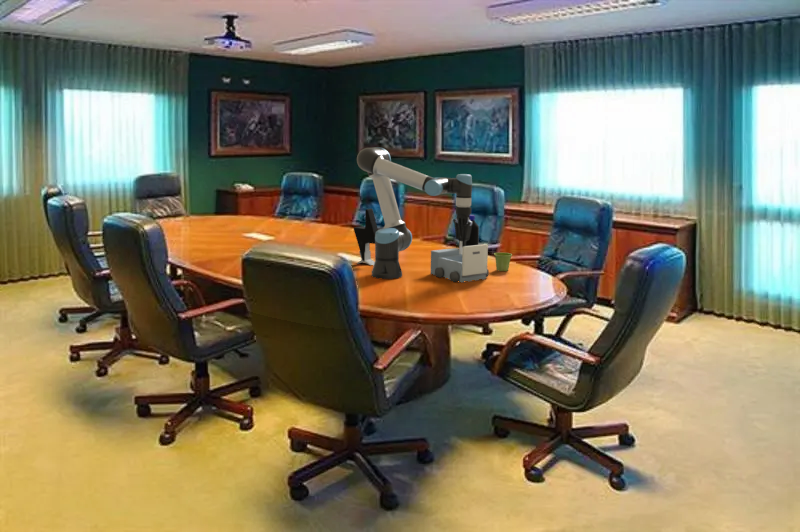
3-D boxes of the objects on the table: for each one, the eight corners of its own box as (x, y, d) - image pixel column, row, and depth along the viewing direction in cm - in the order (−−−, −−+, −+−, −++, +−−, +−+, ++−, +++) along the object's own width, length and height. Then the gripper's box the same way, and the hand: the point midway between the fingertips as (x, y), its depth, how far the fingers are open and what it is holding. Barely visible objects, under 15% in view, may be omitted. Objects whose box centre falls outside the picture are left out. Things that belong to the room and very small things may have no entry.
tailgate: (463, 278, 337) (464, 247, 334) (461, 277, 338) (462, 246, 336) (487, 274, 346) (488, 244, 343) (485, 274, 347) (486, 244, 344)
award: (381, 264, 382) (381, 209, 376) (376, 266, 377) (376, 210, 372) (358, 261, 390) (358, 207, 384) (353, 263, 385) (353, 208, 380)
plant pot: (515, 270, 370) (515, 254, 368) (504, 272, 363) (505, 256, 362) (500, 267, 376) (500, 251, 375) (489, 270, 369) (490, 254, 368)
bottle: (467, 265, 382) (468, 213, 377) (480, 267, 377) (482, 215, 372) (457, 267, 376) (459, 215, 370) (471, 269, 370) (473, 216, 365)
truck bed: (456, 283, 338) (457, 258, 335) (426, 274, 357) (427, 251, 355) (489, 278, 349) (490, 254, 347) (458, 270, 368) (459, 247, 366)
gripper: (478, 207, 341) (476, 255, 345) (461, 204, 351) (459, 251, 356) (466, 207, 336) (464, 256, 341) (449, 205, 347) (448, 252, 352)
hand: (462, 253), depth 348 cm, fingers closed
